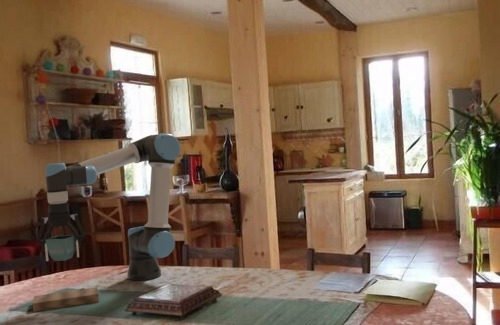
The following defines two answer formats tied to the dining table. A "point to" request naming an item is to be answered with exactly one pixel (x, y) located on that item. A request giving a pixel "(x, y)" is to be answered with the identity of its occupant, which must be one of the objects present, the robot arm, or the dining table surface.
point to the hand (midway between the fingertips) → (62, 258)
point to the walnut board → (65, 299)
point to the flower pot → (61, 247)
